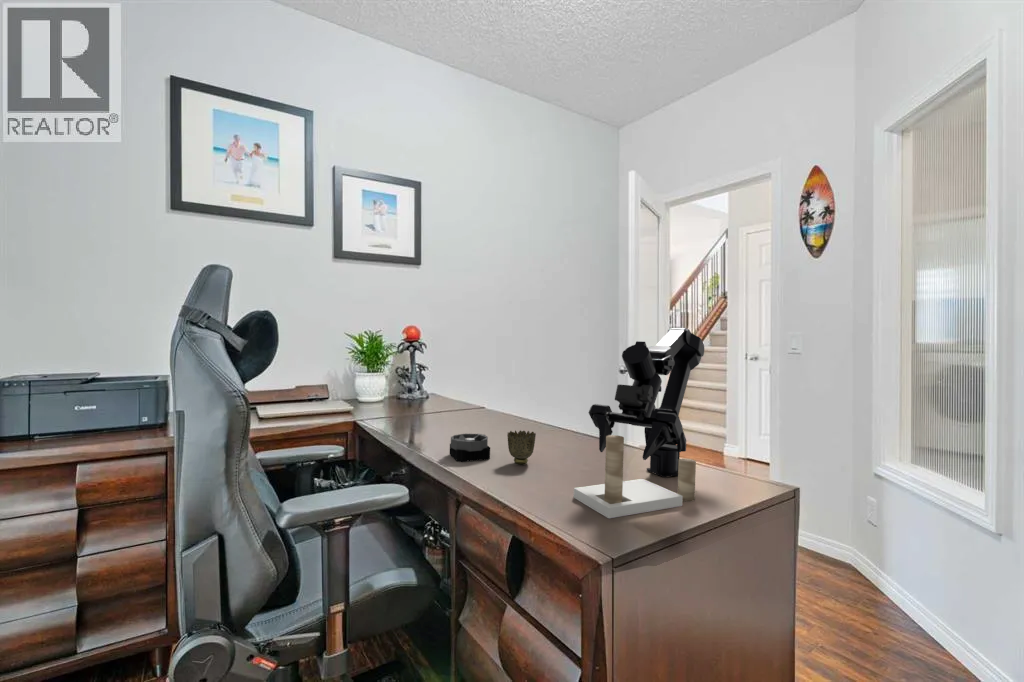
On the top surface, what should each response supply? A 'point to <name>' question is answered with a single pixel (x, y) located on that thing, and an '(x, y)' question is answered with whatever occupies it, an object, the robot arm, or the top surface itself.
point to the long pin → (614, 469)
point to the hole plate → (629, 498)
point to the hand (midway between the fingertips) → (621, 454)
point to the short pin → (686, 479)
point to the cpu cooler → (469, 447)
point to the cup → (521, 445)
